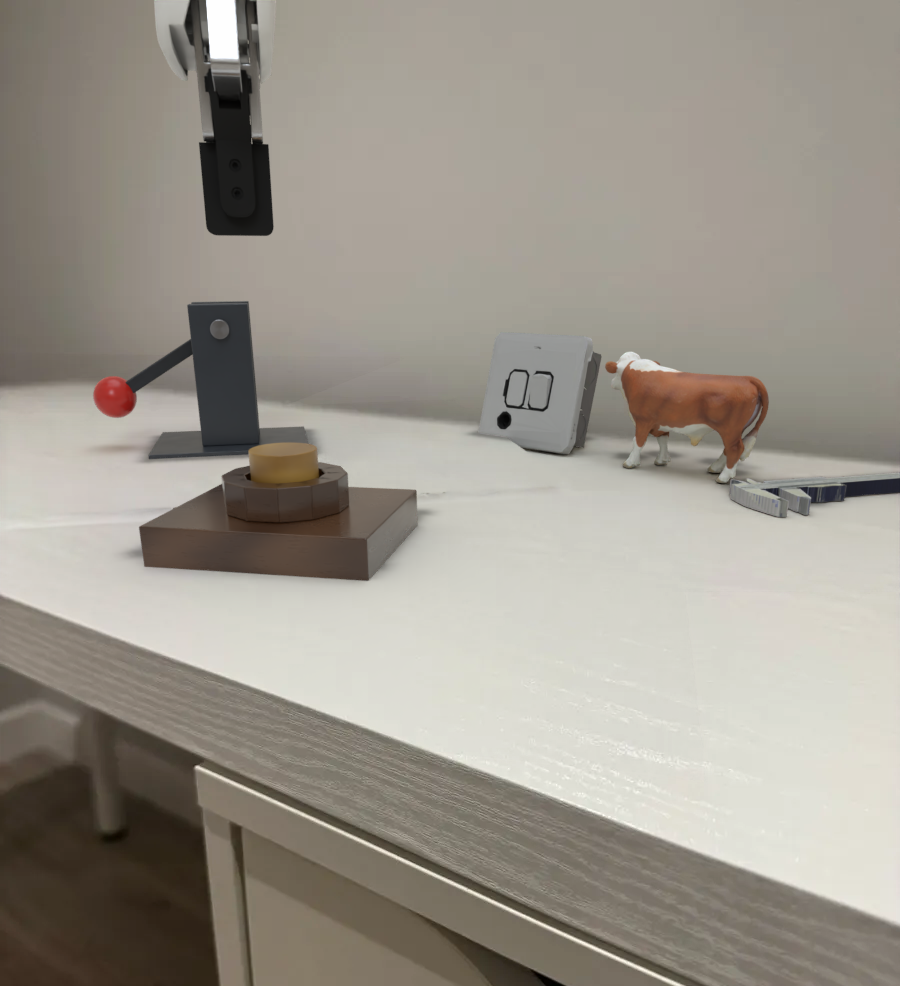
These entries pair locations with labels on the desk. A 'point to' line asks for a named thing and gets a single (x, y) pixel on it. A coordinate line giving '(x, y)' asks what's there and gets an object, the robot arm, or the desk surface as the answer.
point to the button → (283, 463)
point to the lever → (134, 384)
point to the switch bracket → (223, 388)
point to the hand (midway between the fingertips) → (241, 234)
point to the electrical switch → (540, 390)
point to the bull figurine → (689, 409)
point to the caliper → (808, 491)
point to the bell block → (283, 527)
